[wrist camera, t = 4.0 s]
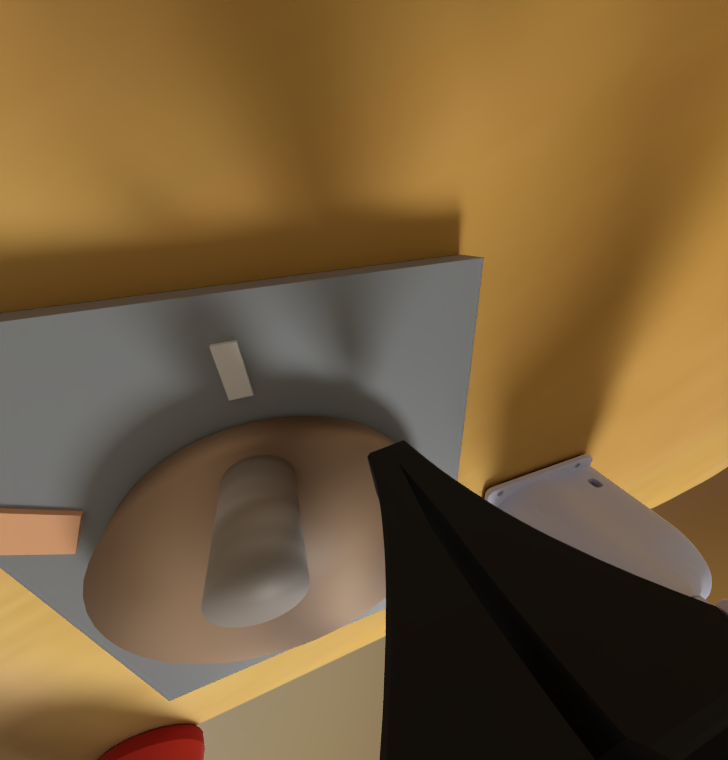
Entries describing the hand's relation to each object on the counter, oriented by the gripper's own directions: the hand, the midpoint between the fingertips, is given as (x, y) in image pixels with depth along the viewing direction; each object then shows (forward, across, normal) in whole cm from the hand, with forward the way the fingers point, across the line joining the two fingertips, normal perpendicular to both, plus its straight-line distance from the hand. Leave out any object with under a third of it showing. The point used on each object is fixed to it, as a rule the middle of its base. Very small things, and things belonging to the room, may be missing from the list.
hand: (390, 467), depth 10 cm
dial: (+3, +5, +5) cm, 8 cm away
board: (+4, +5, +5) cm, 8 cm away
